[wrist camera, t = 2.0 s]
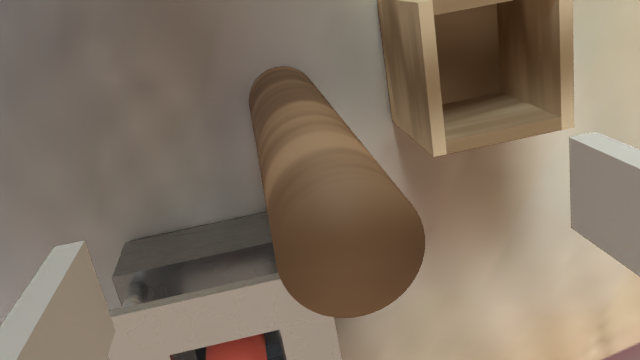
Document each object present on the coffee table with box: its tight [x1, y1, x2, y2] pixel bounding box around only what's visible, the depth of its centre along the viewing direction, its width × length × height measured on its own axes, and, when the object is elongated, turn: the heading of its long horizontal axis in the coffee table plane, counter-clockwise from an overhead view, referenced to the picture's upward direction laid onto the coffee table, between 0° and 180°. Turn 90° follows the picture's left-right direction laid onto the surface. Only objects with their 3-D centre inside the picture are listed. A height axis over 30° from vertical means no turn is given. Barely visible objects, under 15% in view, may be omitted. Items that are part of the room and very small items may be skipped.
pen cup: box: [377, 0, 574, 157], centre depth 28 cm, size 7×7×7 cm
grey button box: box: [108, 212, 342, 360], centre depth 30 cm, size 10×10×8 cm
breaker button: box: [206, 333, 267, 360], centre depth 29 cm, size 3×3×2 cm
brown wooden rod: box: [249, 67, 425, 318], centre depth 22 cm, size 4×4×18 cm
